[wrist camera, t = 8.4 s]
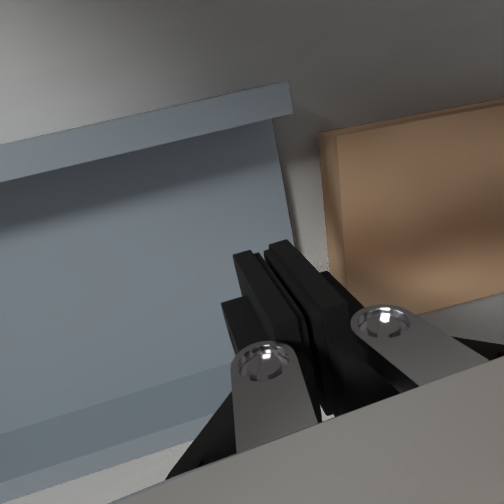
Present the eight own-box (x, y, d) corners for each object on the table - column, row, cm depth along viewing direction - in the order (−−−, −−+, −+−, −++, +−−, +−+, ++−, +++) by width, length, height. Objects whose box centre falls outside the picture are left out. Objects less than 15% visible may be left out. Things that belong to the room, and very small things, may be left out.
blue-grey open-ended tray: (-263, 203, 14) (-390, 233, 11) (262, 85, 16) (288, 81, 13) (-72, 468, 19) (-120, 543, 16) (310, 348, 21) (337, 391, 18)
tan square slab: (314, 131, 18) (336, 136, 16) (510, 96, 19) (558, 95, 17) (329, 307, 21) (350, 332, 19) (497, 265, 23) (534, 284, 20)
